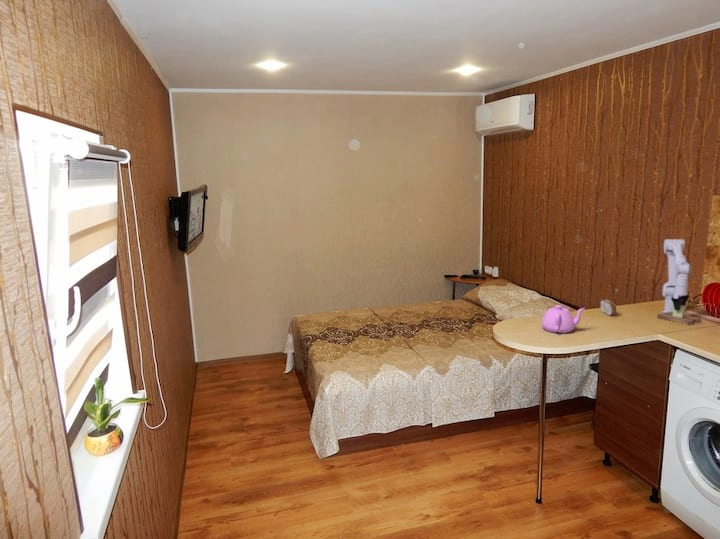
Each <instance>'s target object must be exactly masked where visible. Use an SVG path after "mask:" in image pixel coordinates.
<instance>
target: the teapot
mask: <svg viewBox="0 0 720 539" xmlns="http://www.w3.org/2000/svg"><path fill="white" fill-rule="evenodd" d="M584 310H586V308H585V307H582V308H579V309H578V310H577V312H576V316H575V317H574V316H573V314H572V312H571V311H570V310H569V309H568V308H565V307H563V305H561V304H557V305H555V306H554V307H553V306H552V307H549V308H548V309H546V312H545V313H544V314H543V316H542V318H541V323H540V325H541V326H542V328H544V330H545V331H548V332H550V333H556V332H558V334H561V333H562V334H565V333H571V332H572V331H573V330H574V329H575V328H576V326H577V325H578V324H579V323H580V321H581V315H582V312H583V311H584Z"/></svg>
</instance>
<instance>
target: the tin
mask: <svg viewBox="0 0 720 539" xmlns="http://www.w3.org/2000/svg"><path fill="white" fill-rule="evenodd" d="M600 310H601V312H602V313H604V314H605V315H607V316H610V317H615V316H616V314H617V306H616V304H615V302H614V301H611V300H609V299H607V298H605V299H601V300H600Z"/></svg>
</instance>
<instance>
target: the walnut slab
mask: <svg viewBox="0 0 720 539" xmlns="http://www.w3.org/2000/svg"><path fill="white" fill-rule="evenodd" d="M657 319H659V320H663V319H664V320H663V321H667V320H668V321H667V322H671V321H672V322H671V323H675V322H677V323H676V324H679V323H681V324H680V325H683V324H685V325H684V326H687V325H688V326H691V324H692V325H695V323H697V324H700V323H701V317H696V316H692V315H687V314H685V316H684V317H682V318H681V317H675V316H673V312H666V313H664V312H661V313H658V314H657ZM699 322H700V323H699Z"/></svg>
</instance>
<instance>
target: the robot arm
mask: <svg viewBox="0 0 720 539" xmlns="http://www.w3.org/2000/svg"><path fill="white" fill-rule="evenodd" d="M685 247H686V241H685V239H683V238H681V239H679V238H678V239H675V238H674V239H673V238H672V239H669V238H668V239H667V238H666V239H664V241H663V253H664V254H665V255H666V256H667V274H668V279H667V282H665V283H664V284H663V285H662V292H661V293H662V297H663V298H664V310H662V311H660V312H661V313H666V312H673V306H674V309H675V310H678V311H679V310H680V306H681V305H684V306H685V307H686V304H687V301H688V299H689V298H690V295H689V294H688V286H689V284H688V283H689V275H690V274H691V264H690V263H688V260H687V258H686V256H685V255H683V252H684V249H685Z"/></svg>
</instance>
